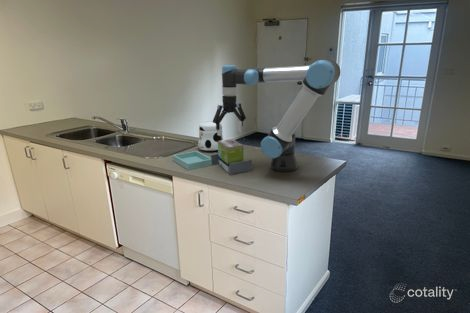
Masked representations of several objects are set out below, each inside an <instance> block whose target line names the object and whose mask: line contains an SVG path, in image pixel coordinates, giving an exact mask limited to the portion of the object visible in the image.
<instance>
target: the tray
mask: <svg viewBox="0 0 470 313" xmlns="http://www.w3.org/2000/svg"><path fill="white" fill-rule="evenodd" d="M172 156H173V157H172V158H173V162H175V163H176V164H178V165H179V166H180V167H183V168H185V169H186V170H188V171H191V170H195V169H200V168H204V167H209V166H213V165H212V159H211V156H209V155H206V154H204V153H203V152H202V153H201V152H200V151H198V150H193V151H187V152H182V153H177V154H173V155H172Z"/></svg>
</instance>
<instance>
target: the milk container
mask: <svg viewBox="0 0 470 313" xmlns="http://www.w3.org/2000/svg"><path fill="white" fill-rule="evenodd" d="M220 124H221V136H219V135H217V130H216V123H213V121H203V122H200V123H199V124H198V134H199V135H198V136H199V137H198V143H197V145H198V147H199V149H200V150H201V151H203V152H210V153H211V152H218V141H222V140H224V136H223V123H222V122H220Z"/></svg>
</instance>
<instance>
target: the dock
mask: <svg viewBox="0 0 470 313" xmlns="http://www.w3.org/2000/svg"><path fill="white" fill-rule="evenodd" d="M210 158H211V159H212V165H211V166H215V165H219V159H218V153H213V154H212V153H211V154H210ZM252 166H253V165H252V159H251V158H249V159H245V160H244V161H240V162H235V163H231V164H229V172H228V175H229V176H233V175H237V174H241V173H244V172H248V171H252V170H253V169H252Z"/></svg>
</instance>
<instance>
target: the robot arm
mask: <svg viewBox="0 0 470 313" xmlns="http://www.w3.org/2000/svg"><path fill="white" fill-rule="evenodd" d="M221 70H222V71H221V81H222V83H221V84H222V86H221V87H222V88H221V89H222V105H220V104H217V107H216V108H217V109H216V112H215V114H214V117H213V119H212V122H213V123H216V130H217V135H219V136H221V124H220V123H222V121H223V120H224V118H225V116H226V114H231V113H233V114H234V115H235V116H236V118H237V119H238V120H237V132H238V133H240V134H242V133H243V126H244V121H245V120H246V119H247V117H246V115H245V112H244V110H243V108H242V103H240V102H237V92H238V91H237V85H247V86H254V85H256V84H259V83H260V84H261V83H284V82H285V83H286V82H287V83H288V82H301V83H302V88H301V89H300V90H299V92H298V93H297V96H296V97H295V98H294V100H293V101H292V103H291V105H290V106H289V107H288V109H287V111H286V112H285V114H284V115H283V117H282V119H281V120H280V122H279V123H278V124H277V126H273V127H272V128H271V130H269V133H268V134H267V136H265V137H264V138H262V140H261V142H260V149H261V152H262V154H263V155H265V157H266V158H269V159H271V161H270V164H269V169H271V170H273V171H276V172H282V173H285V172H286V173H289V172H293V171H296V170H297V169H298V163H297V159H296V155H295V152H296V151H295V148H296V130H297V129H298V127H299V125H300V124H301V123H302V121H303V120H304V118H305V117H306V115H307V114H308V113H309V111H310V110H311V108H312V107H313V105H314V104H315V103H316V101H317V99H318V98H320V97H322V96H324V95H325V94H326V93H327V91H328V89H329V88H330V87H331V85H333V84H335V83H336V82H337V81H338V80H339V79H340V76H341V68H340V66H339V64H338V63H337V62H336V61H334V60H331V59H326V60H325V59H320V60H316V61H315V62H313V63H311V64H310V65H294V66H292V65H291V66H279V67H278V66H277V67H257V68H247V69H246V68H245V69H242V68H241V69H238V68H237V65H233V64H232V65H231V64H225V65H222V67H221Z"/></svg>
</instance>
